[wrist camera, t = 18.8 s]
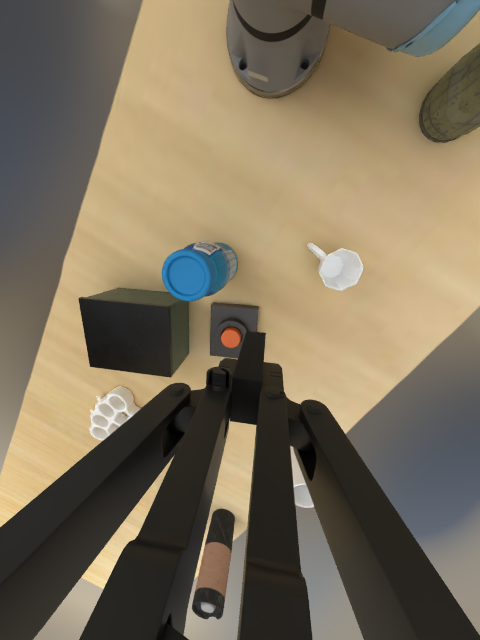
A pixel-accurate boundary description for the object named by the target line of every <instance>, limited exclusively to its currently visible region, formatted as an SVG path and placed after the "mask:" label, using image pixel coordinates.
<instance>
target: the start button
mask: <svg viewBox="0 0 480 640" xmlns="http://www.w3.org/2000/svg"><path fill="white" fill-rule="evenodd" d="M240 340H241V333H240V332H239V330H238V329H236V328H233V327H229V328H226V329H225V330H224V332H223V333H222V335H221V341H222V343H223V344H224V345H225V346H226V347H229V348H234V347H236V346H237V345H238V344H239V343H240Z"/></svg>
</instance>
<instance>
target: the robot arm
mask: <svg viewBox="0 0 480 640" xmlns="http://www.w3.org/2000/svg"><path fill="white" fill-rule="evenodd" d="M479 10H480V0H230V3H229V9H228V17H227V28H226V36H227V45H228V51H229V55H230V59H231V63H232V66H233V69H234V71H235V73H236V75H237V77H238V79H239V80H240V81H241V83H242V84H243V85H244V86H245V87H246V88H247V89H248V90H249V91H251V92H252V93H254V94H256V95H258V96H261V97H266V98H278V97H282V96H285V95H288V94H290V93H292V92H294V91H295V90H297V89H298V88H299V87H301V86H302V85H303V84H304V83H305V82H306V81H307V80H308V78H309V77H310V76H311V75H312V73H313V72H314V70H315V69H316V67H317V65H318V63H319V61H320V59H321V57H322V54H323V51H324V48H325V44H326V40H327V37H328V32H329V27H330V24H332V25H335V26H337V27H339V28H342V29H344V30H347V31H349V32H351V33H354V34H356V35H359V36H361V37H363V38H366V39H368V40H371V41H373V42H375V43H378V44H380V45H382V46H385V47H386V48H387V50H389V51H390V52H392V51H393V52H398V51H400V52H403V53H406V54H409V55H412V56H416V57H421V56H426V55H429V54H432V53H434V52H435V51H437V50H438V49H440V48H441V47H443V46H444V45H445V44H446V43H448V42H449V41H450V40H451V39H452V38H453V37H454V36H455V35H456V34H458V33H459V32H460V31H461V29H462V28H463V27H464V26H465V25H466V24H467V23H468V22H469V21H470V20H471V19H472V18H473V17H474V16H475V14H476V13H477V12H478V11H479ZM265 335H266V333H261V332H251V331H246V334H245V337H244V340H243V344H242V347H241V351H240V354H239V357H238V360H237V359H228V358H225V359H223V360H222V361H220V364H219V366H218V367H213V368H211V369H209V370H208V371H207V379H206V387H205V388H204V389H201V390H192V391H191V389H190V387H189V385H187V384H184V383H174V384H171V385H169V386H167V387H166V388H165V389H164V390H163V391H161V392H160V393H159V394H158V395H157V396H155V397H154V398H153V399H152V400H151V401H149V402H148V403H147V404H146V405H145V406H144V407H142V408H141V409H140V410H139V411H138V412H136V413H135V414H134V415H133V416H132V417H131V418H129V419H128V420H127V421H126V422H125V423H123V424H122V425H121V426H120V427H119V428H118V429H116V430H115V431H114V432H113V433H112V434H110V435H109V436H108V437H107V438H106V439H105V440H103V441H102V442H101V443H100V444H99V445H97V446H96V447H95V448H94V449H93V450H91V451H90V452H89V453H88V454H87V455H86V456H84V457H83V458H82V459H81V460H80V461H78V462H77V463H76V464H75V465H74V466H73V467H71V468H70V469H69V470H68V471H67V472H65V473H64V474H63V475H62V476H61V477H60V478H58V479H57V480H56V481H55V482H54V483H52V484H51V485H50V486H49V487H48V488H47V489H45V490H44V491H43V492H42V493H41V494H39V495H38V496H37V497H36V498H35V499H33V500H32V501H31V502H30V503H29V504H28V505H26V506H25V507H24V508H23V509H22V510H20V511H19V512H18V513H17V514H16V515H15V516H13V517H12V518H11V519H10V520H9V521H7V522H6V523H5V524H4V525H3V526H2V527H0V640H33V639H34V637H35V636H36V635H37V634H38V632H39V631H40V630H41V629H42V628H43V626H44V625H45V624H46V622H47V621H48V620H49V618H50V617H51V616H52V615H53V613H54V612H55V611H56V609H57V608H58V607H59V605H60V604H61V603H62V601H63V600H64V599H65V597H66V596H67V595H68V594H69V592H70V591H71V590H72V588H73V587H74V586H75V584H76V583H77V582H78V580H79V579H80V578H81V577H82V575H83V574H84V573H85V571H86V570H87V569H88V567H89V566H90V565H91V563H92V562H93V561H94V559H95V558H96V557H97V556H98V554H99V553H100V552H101V550H102V549H103V548H104V546H105V545H106V544H107V542H108V541H109V540H110V539H111V537H112V536H113V535H114V533H115V532H116V531H117V529H118V528H119V527H120V525H121V524H122V523H123V521H124V520H125V519H126V518H127V516H128V515H129V514H130V512H131V511H132V510H133V508H134V507H135V506H136V504H137V503H138V502H139V501H140V499H141V498H142V497H143V495H144V494H145V493H146V491H147V490H148V489H149V487H150V486H151V485H152V483H153V482H154V481H155V480H156V478H157V477H158V476H159V474H160V473H161V472H162V470H163V469H164V468H165V466H166V465H167V464H168V463H169V461H170V460H171V459H172V457H173V456H174V455H175V456H174V458H173V460H172V462H171V464H170V467H169V469H168V471H167V473H166V475H165V478H164V480H163V482H162V484H161V486H160V489H159V491H158V493H157V495H156V497H155V500H154V502H153V504H152V506H151V508H150V511H149V513H148V515H147V517H146V519H145V522H144V524H143V526H142V528H141V530H140V532H139V534H138V536H137V537H136V539H135V540H132V541H130V542H129V543H128V544H127V545H126V546H125V548H124V549H123V551H122V553H121V555H120V557H119V559H118V561H117V563H116V565H115V567H114V569H113V571H112V573H111V575H110V577H109V579H108V581H107V583H106V585H105V588H104V590H103V592H102V594H101V596H100V598H99V600H98V602H97V604H96V606H95V608H94V611H93V612H92V614H91V616H90V619H89V621H88V623H87V625H86V627H85V629H84V631H83V633H82V635H81V637H80V639H79V640H189V639H187V638H186V637H185V636H183V634H184V628H185V621H186V614H187V608H188V603H189V598H190V594H191V589H192V585H193V581H194V577H195V572H196V568H197V564H198V559H199V555H200V551H201V546H202V542H203V538H204V533H205V529H206V525H207V520H208V516H209V512H210V507H211V503H212V499H213V494H214V490H215V486H216V481H217V477H218V472H219V468H220V464H221V459H222V455H223V451H224V446H225V442H226V438H227V433H228V429H229V419H230V421H233V422H240V423H247V424H254V425H257V427H256V437H255V449H254V460H253V471H252V482H251V493H250V504H249V515H248V526H247V539H246V549H245V560H244V571H243V582H242V593H241V604H240V615H239V626H238V636H237V640H312V631H311V620H310V610H309V600H308V594H307V593H308V592H307V586H306V582H305V578H304V577H303V575H302V573H301V567H300V557H299V544H298V532H297V520H296V508H295V496H294V484H293V473H292V461H291V449H290V446H292V447H293V450H294V453H295V456H296V459H297V461H298V464H299V467H300V469H301V472H302V475H303V477H304V480H305V483H306V485H307V488H308V491H309V494H310V496H311V499H312V502H313V504H314V507H315V510H316V512H317V515H318V518H319V520H320V523H321V525H322V528H323V531H324V534H325V536H326V539H327V542H328V544H329V547H330V550H331V552H332V555H333V558H334V560H335V563H336V566H337V569H338V571H339V574H340V577H341V579H342V582H343V585H344V587H345V590H346V592H347V595H348V598H349V601H350V603H351V606H352V609H353V611H354V614H355V617H356V619H357V622H358V625H359V627H360V630H361V633H362V636H363V638H364V640H480V635H479V634H478V632H477V631H476V630H475V628H474V626H473V625H472V623H471V622H470V620H469V619H468V618H467V616H466V614H465V613H464V612H463V610H462V608H461V607H460V606H459V604H458V603H457V601H456V599H455V598H454V597H453V595H452V593H451V592H450V590H449V589H448V587H447V586H446V585H445V583H444V581H443V580H442V579H441V577H440V576H439V574H438V572H437V571H436V570H435V568H434V567H433V565H432V564H431V562H430V561H429V559H428V558H427V556H426V555H425V553H424V552H423V550H422V549H421V547H420V546H419V544H418V543H417V541H416V540H415V538H414V537H413V535H412V534H411V532H410V531H409V529H408V528H407V526H406V525H405V523H404V522H403V520H402V519H401V517H400V516H399V514H398V513H397V511H396V510H395V508H394V507H393V505H392V504H391V502H390V501H389V499H388V498H387V496H386V495H385V493H384V492H383V490H382V489H381V487H380V486H379V484H378V483H377V481H376V480H375V478H374V477H373V475H372V474H371V472H370V471H369V469H368V468H367V466H366V465H365V463H364V462H363V460H362V459H361V457H360V456H359V455H358V453H357V451H356V450H355V448H354V447H353V445H352V444H351V442H350V441H349V439H348V438H347V436H346V435H345V433H344V432H343V430H342V429H341V427H340V426H339V424H338V423H337V421H336V420H335V418H334V417H333V415H332V414H331V412H330V411H329V409H328V408H327V407H326V406H325V405H324V404H322V403H321V402H319V401H316V400H305V401H303V402H302V403H301V405H300V404H298V403H295V402H293V401H291V400H289V399H288V398H287V397H286V394H285V392H284V388H283V374H282V368H281V366H280V365H279V364H275V363H266V362H264V349H265Z"/></svg>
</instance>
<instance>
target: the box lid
mask: <svg viewBox="0 0 480 640" xmlns="http://www.w3.org/2000/svg"><path fill="white" fill-rule="evenodd" d="M79 304H80V310H81V316H82V322H83V328H84V333H85V339H86V345H87V351H88V357H89V363H90V367H96V368H104V369H111V370H119V371H126V372H134V373H141V374H149V375H156V376H164V377H172V375H173V369H172V342H171V316H170V306H168V305H158V304H148V303H138V302H127V301H117V300H107V299H97V298H87V297H81V298H79Z"/></svg>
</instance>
